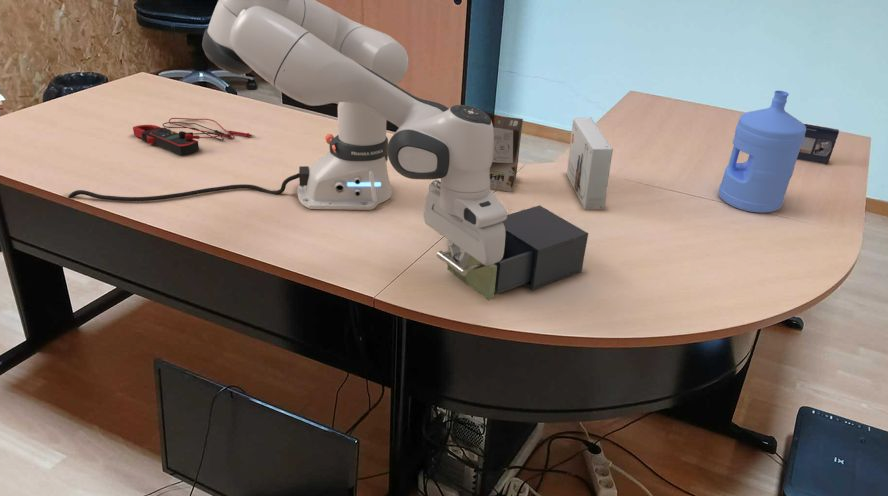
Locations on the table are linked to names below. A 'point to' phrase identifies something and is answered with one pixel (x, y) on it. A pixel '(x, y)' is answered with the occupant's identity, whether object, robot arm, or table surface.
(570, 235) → the cabinet
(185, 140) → the digital clamp meter
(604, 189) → the skincare box
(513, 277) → the drawer
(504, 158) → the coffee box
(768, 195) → the water jug
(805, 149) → the vhs cassette tape
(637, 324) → the table surface
